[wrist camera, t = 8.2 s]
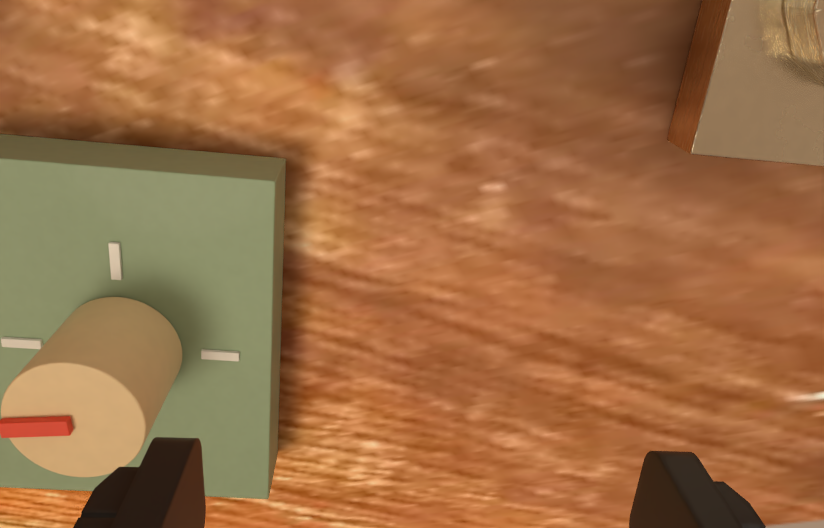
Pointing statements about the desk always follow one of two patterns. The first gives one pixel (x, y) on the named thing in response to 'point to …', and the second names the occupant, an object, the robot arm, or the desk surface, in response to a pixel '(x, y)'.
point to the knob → (93, 388)
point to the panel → (153, 285)
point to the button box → (754, 82)
